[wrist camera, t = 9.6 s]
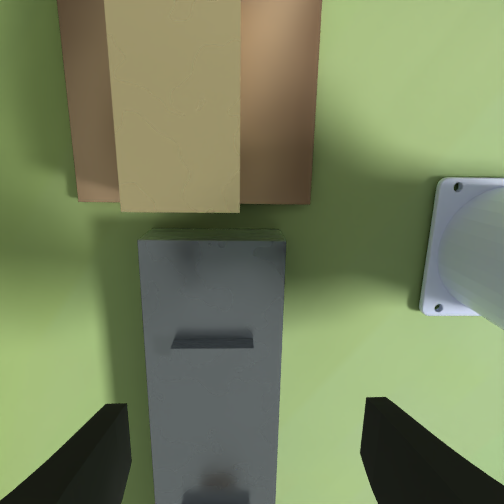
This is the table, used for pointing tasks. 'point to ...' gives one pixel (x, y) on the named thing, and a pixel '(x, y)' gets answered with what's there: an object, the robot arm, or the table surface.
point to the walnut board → (251, 99)
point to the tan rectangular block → (176, 103)
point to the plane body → (213, 361)
